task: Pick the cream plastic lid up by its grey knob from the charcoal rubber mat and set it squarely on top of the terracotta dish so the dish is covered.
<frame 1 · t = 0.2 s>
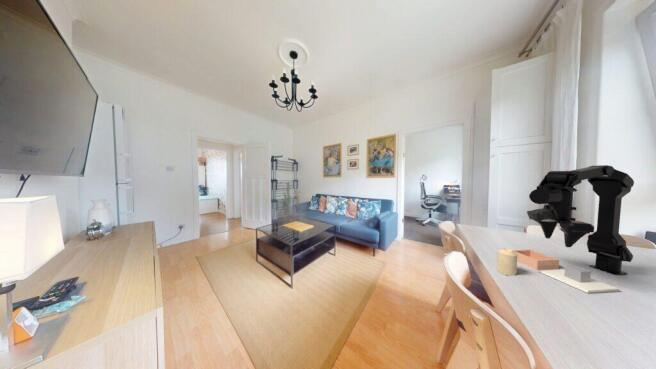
hand: (557, 242, 68), 14 cm above the table, tool pointing down, fingers open, 9 cm apart
candle: (506, 273, 71), on the table
dish: (532, 264, 78), on the table
lid: (576, 281, 65), point 1 cm above the table, touching mat
mat: (576, 282, 65), on the table
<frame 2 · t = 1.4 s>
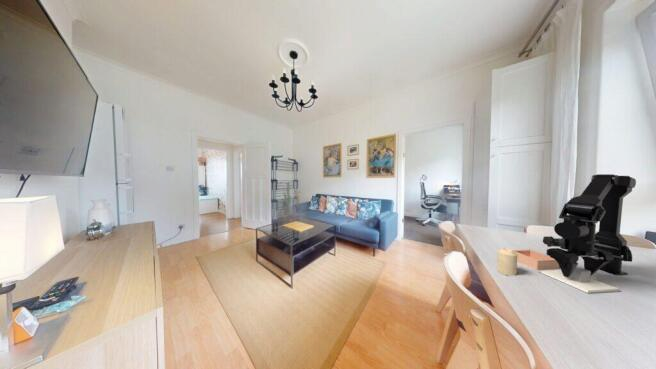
hand: (576, 276, 65), 2 cm above the table, tool pointing down, fingers open, 9 cm apart
nothing on the table moved.
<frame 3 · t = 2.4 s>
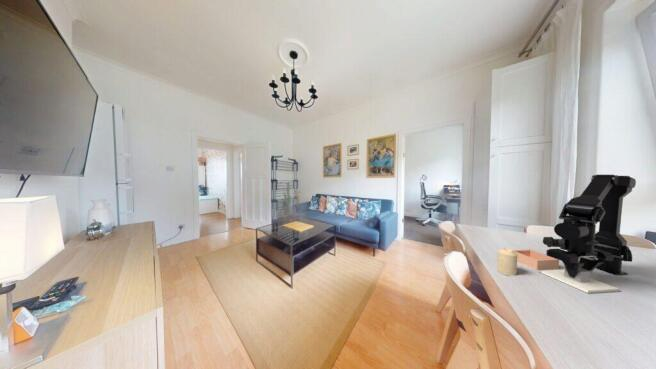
hand: (576, 276, 65), 2 cm above the table, tool pointing down, fingers closed on lid, 4 cm apart
lid: (576, 281, 65), point 1 cm above the table, touching gripper, mat
everything else where it was.
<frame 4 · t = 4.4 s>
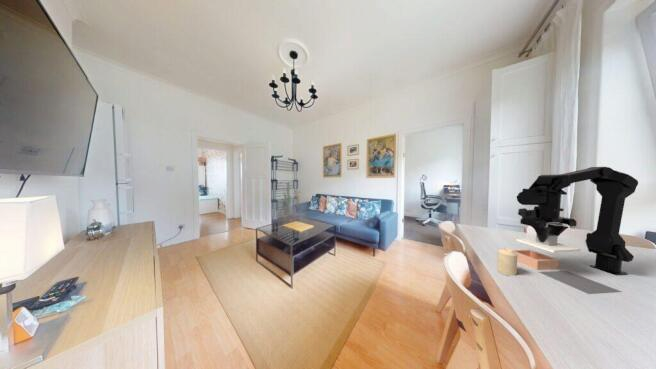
hand: (546, 241, 73), 12 cm above the table, tool pointing down, fingers closed on lid, 4 cm apart
lid: (546, 245, 73), point 10 cm above the table, touching gripper
everything else where it was.
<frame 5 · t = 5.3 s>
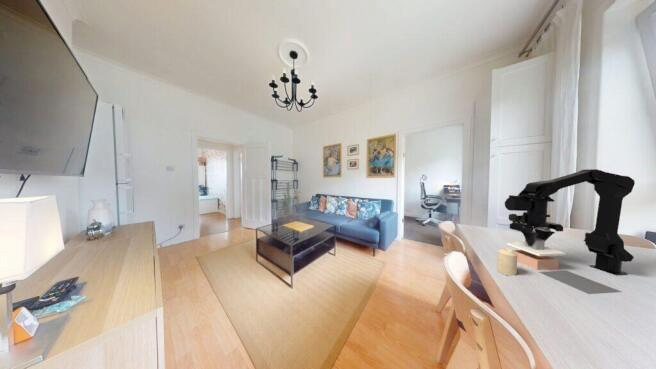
hand: (534, 245, 77), 9 cm above the table, tool pointing down, fingers closed on lid, 4 cm apart
lid: (534, 249, 77), point 7 cm above the table, touching gripper
everything else where it was.
when the fingers open (7 cm above the table, at t = 6.3 s): lid stays where it is, resting on dish.
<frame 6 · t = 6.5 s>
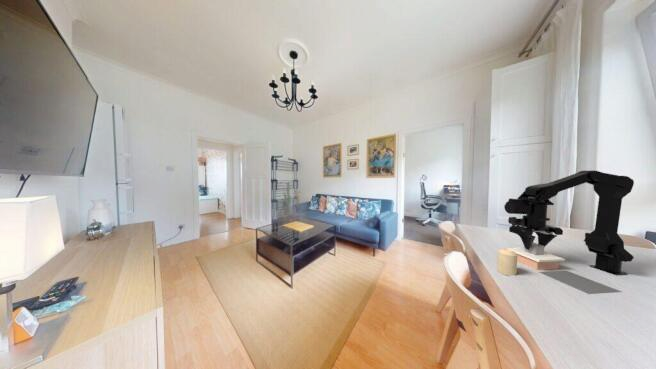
hand: (533, 249, 77), 7 cm above the table, tool pointing down, fingers open, 6 cm apart
lid: (533, 254, 77), point 4 cm above the table, touching dish
everything else where it was.
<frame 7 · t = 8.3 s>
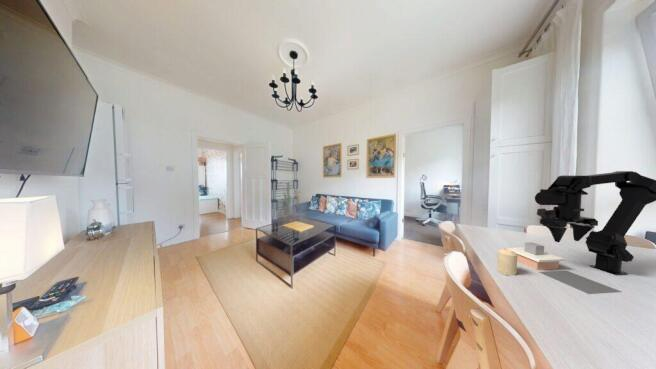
hand: (566, 241, 74), 12 cm above the table, tool pointing down, fingers open, 9 cm apart
nothing on the table moved.
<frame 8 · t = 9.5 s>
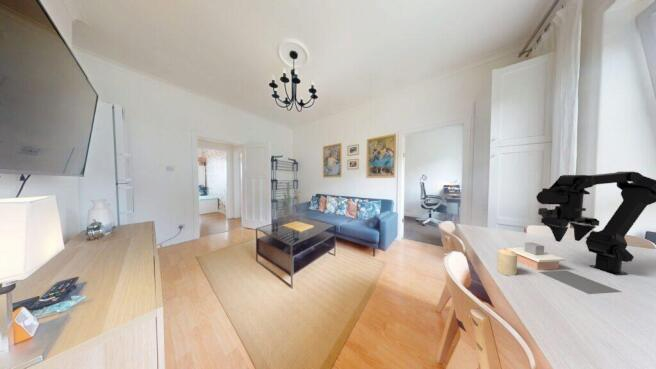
hand: (567, 241, 74), 12 cm above the table, tool pointing down, fingers open, 9 cm apart
nothing on the table moved.
at the end: lid 0.1 cm from the dish (horizontally); lid point 4.5 cm above the table; lid tilted 0° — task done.
